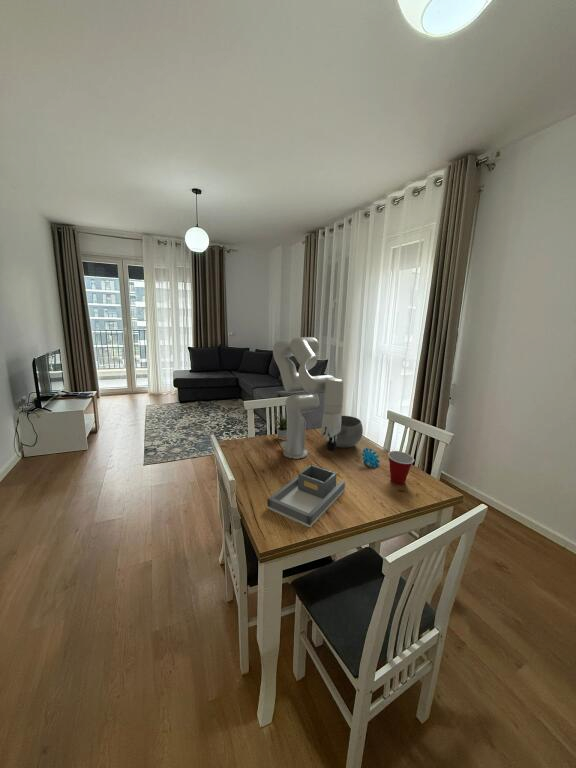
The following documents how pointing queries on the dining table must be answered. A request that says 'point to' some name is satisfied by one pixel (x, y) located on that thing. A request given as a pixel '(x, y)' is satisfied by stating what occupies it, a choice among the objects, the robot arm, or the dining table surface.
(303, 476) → the crate
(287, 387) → the robot arm
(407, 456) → the plastic cup
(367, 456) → the gear
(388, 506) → the dining table surface
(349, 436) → the bowl
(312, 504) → the bay
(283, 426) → the house plant
